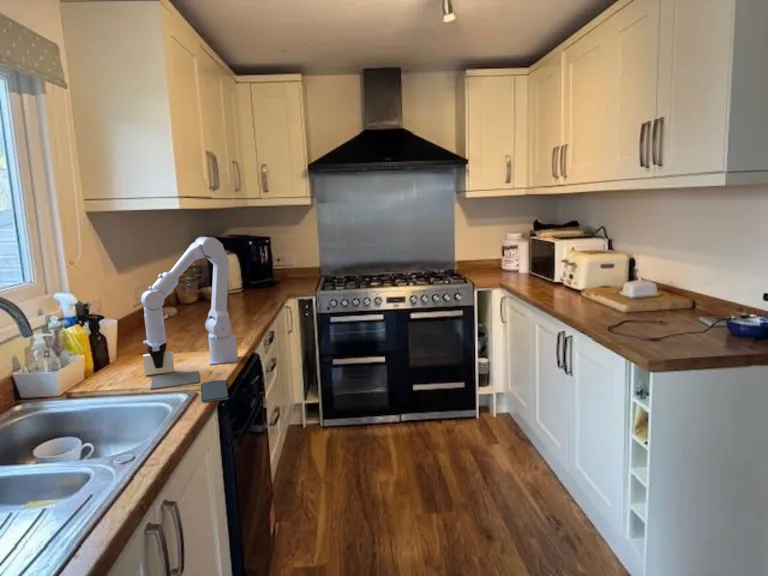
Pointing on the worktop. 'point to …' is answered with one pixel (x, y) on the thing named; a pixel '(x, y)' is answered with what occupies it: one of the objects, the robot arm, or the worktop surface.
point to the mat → (175, 380)
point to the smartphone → (214, 391)
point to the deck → (150, 368)
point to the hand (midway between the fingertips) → (159, 366)
